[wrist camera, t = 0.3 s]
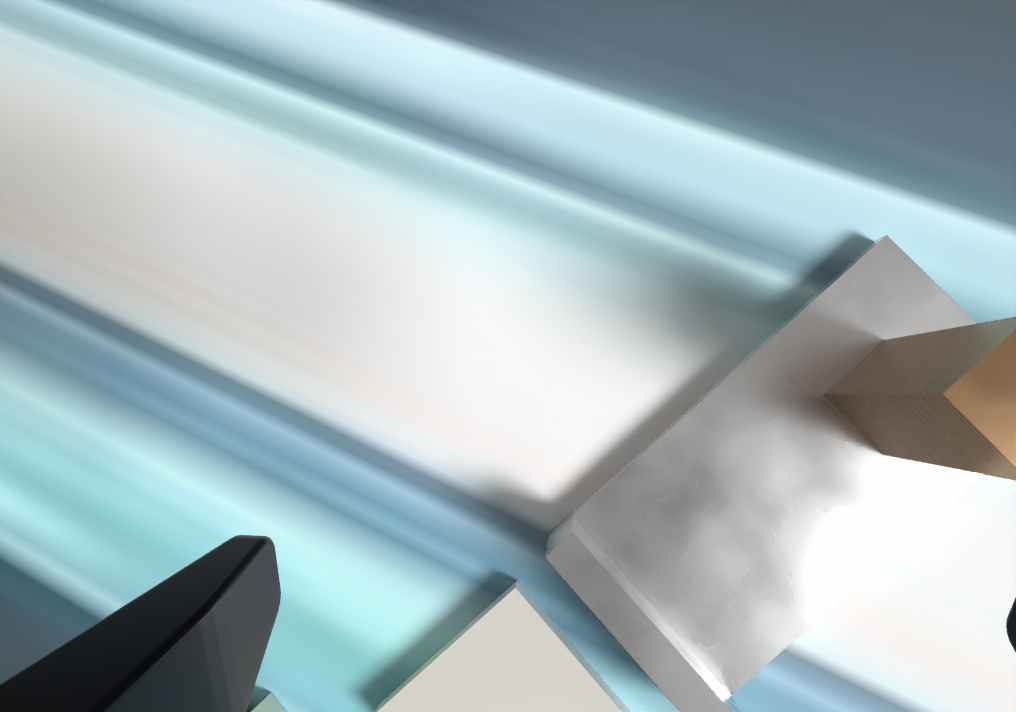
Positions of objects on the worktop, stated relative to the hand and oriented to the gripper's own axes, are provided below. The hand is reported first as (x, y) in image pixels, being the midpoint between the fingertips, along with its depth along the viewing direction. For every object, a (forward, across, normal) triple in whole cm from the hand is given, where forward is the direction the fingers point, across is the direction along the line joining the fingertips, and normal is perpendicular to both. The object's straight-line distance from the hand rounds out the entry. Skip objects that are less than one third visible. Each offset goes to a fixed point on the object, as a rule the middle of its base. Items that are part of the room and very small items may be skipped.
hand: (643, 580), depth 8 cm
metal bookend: (+14, -8, +7) cm, 17 cm away
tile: (+11, +1, +16) cm, 19 cm away
